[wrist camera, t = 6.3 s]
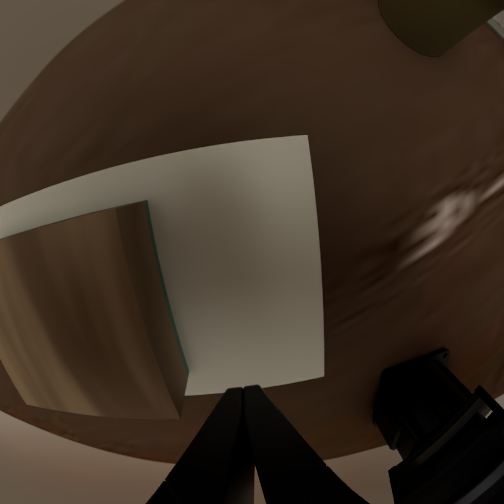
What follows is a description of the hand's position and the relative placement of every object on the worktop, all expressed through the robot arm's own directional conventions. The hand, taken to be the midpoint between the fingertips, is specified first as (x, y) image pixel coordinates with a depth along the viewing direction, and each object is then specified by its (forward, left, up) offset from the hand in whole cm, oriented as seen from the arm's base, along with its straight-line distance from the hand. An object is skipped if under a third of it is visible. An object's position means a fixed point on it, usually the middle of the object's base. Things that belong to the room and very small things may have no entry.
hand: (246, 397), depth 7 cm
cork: (-14, -16, -9) cm, 23 cm away
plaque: (+4, 0, -6) cm, 7 cm away
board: (+7, 0, -9) cm, 11 cm away
